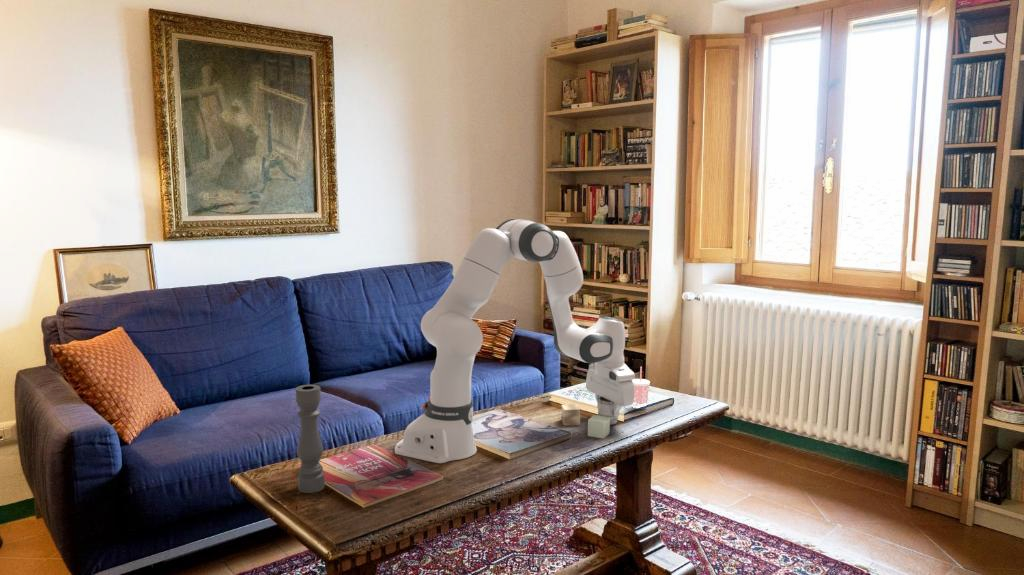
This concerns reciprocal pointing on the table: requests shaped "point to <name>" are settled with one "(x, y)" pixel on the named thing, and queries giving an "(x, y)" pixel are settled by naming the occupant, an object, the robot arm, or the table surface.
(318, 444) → the candle holder
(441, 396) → the robot arm
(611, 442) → the table surface
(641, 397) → the beverage cup
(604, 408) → the potted succulent
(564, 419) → the birch cube
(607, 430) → the sage cube
